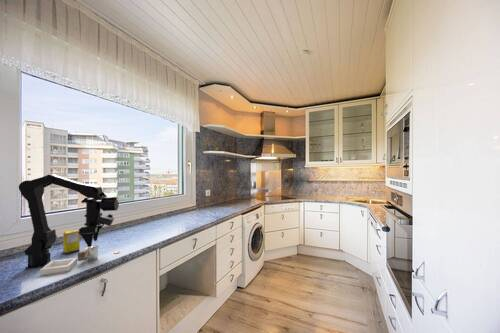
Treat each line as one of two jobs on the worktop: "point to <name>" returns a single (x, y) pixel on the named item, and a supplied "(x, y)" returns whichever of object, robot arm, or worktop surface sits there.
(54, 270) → the tray
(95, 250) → the stop plug
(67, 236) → the supplement box
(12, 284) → the worktop surface
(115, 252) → the crank base
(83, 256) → the crank arm
